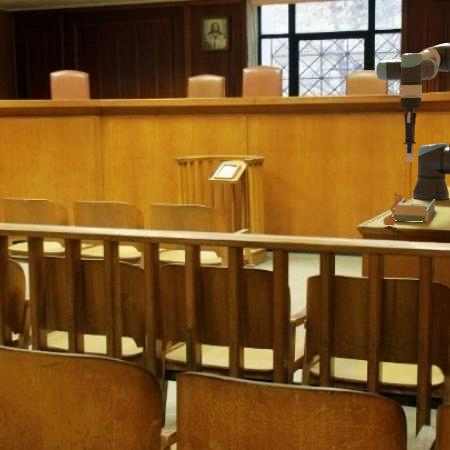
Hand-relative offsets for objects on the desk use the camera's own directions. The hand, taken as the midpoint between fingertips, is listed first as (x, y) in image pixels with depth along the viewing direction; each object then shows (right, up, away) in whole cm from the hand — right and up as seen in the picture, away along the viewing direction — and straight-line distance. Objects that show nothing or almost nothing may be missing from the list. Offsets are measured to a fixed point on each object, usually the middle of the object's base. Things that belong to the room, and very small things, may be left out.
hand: (409, 161), depth 286 cm
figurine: (-11, -24, -23) cm, 35 cm away
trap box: (+2, -20, +1) cm, 20 cm away
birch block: (-3, -19, -8) cm, 21 cm away
